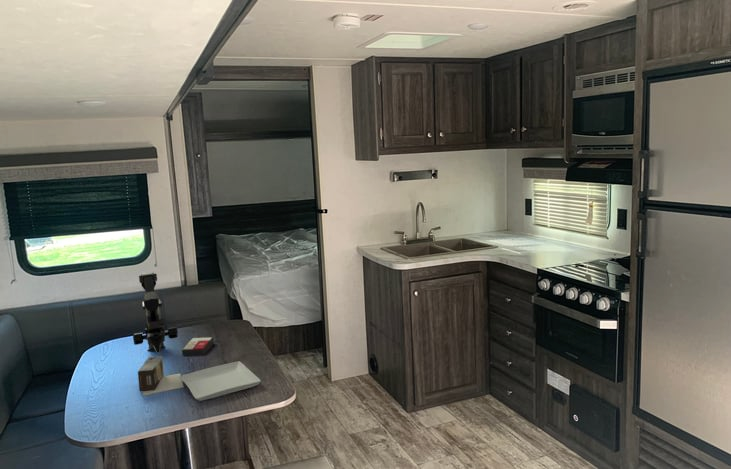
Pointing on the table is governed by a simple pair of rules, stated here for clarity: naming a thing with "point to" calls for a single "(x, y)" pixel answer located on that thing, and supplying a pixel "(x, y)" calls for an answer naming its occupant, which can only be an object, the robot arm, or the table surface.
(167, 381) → the mat
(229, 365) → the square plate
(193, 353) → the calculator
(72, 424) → the table surface
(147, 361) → the coffee box
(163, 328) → the robot arm
